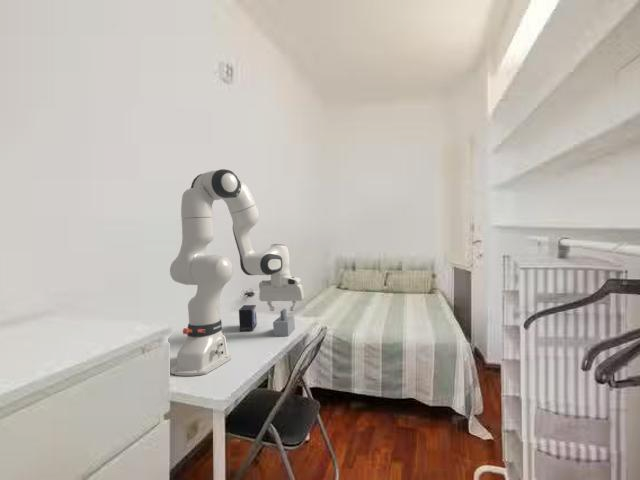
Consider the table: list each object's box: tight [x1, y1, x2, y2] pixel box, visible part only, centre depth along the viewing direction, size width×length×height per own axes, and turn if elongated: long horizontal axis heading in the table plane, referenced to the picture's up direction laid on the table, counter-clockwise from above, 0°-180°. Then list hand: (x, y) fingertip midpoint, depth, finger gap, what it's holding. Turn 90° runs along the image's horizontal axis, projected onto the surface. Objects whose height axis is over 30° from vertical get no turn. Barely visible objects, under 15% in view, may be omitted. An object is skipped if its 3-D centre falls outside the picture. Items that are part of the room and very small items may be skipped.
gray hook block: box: [272, 308, 296, 337], centre depth 166 cm, size 11×7×10 cm, turn 169°
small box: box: [238, 304, 258, 332], centre depth 176 cm, size 11×6×10 cm, turn 179°
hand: (282, 310), depth 165 cm, fingers open, 8 cm apart
